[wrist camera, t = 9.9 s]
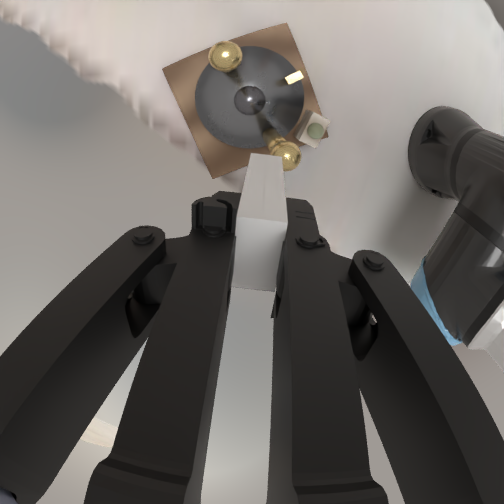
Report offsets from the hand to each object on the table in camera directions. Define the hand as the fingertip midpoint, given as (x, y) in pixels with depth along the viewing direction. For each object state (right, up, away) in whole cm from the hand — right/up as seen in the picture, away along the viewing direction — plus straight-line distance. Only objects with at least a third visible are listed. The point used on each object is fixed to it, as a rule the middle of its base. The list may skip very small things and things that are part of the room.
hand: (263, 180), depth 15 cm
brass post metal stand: (-1, +15, +19) cm, 24 cm away
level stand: (-1, +16, +20) cm, 26 cm away
